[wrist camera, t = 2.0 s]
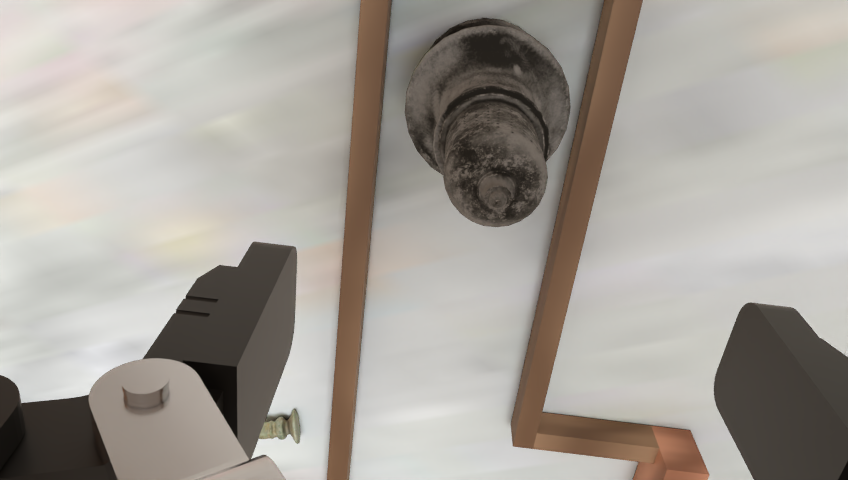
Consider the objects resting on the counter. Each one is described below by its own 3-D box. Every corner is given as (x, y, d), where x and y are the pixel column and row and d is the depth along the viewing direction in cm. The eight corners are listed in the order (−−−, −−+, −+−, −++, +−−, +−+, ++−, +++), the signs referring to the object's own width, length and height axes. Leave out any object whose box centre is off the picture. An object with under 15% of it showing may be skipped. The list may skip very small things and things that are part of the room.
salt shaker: (458, 180, 30) (457, 340, 19) (383, 62, 28) (333, 165, 17) (583, 110, 28) (659, 241, 17) (513, -21, 26) (550, 35, 15)
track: (862, -32, 25) (910, -23, 23) (640, 564, 39) (653, 613, 37) (372, -95, 25) (362, -94, 22) (326, 526, 39) (317, 572, 37)
